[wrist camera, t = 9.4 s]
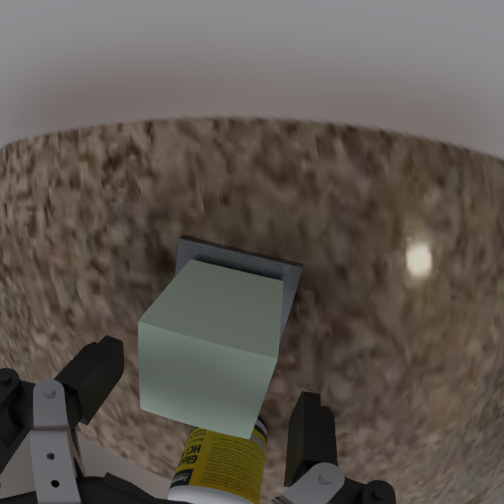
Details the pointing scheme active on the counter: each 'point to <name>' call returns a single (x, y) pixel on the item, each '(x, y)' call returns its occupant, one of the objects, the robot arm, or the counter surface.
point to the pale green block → (210, 348)
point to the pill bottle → (220, 468)
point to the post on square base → (243, 266)
